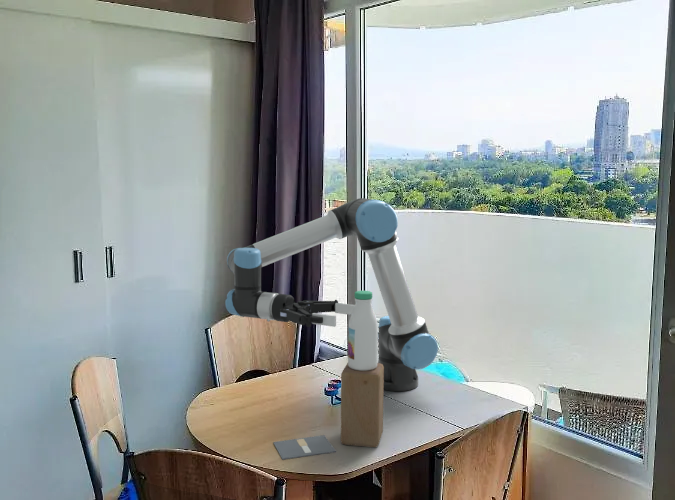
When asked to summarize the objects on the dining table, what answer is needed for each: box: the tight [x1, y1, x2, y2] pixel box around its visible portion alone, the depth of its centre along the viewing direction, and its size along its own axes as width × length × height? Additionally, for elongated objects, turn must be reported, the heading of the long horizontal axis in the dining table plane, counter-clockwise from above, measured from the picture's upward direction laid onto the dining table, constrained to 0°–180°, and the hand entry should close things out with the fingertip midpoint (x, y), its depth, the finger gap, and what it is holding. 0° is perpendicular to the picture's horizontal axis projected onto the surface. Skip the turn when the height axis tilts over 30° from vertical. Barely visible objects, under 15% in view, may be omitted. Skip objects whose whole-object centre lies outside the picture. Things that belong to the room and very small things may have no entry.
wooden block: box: [340, 362, 384, 448], centre depth 168 cm, size 10×10×20 cm
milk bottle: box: [347, 290, 379, 371], centre depth 165 cm, size 8×8×20 cm
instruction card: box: [272, 434, 337, 461], centre depth 164 cm, size 14×10×1 cm
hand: (347, 315), depth 166 cm, fingers open, 13 cm apart
